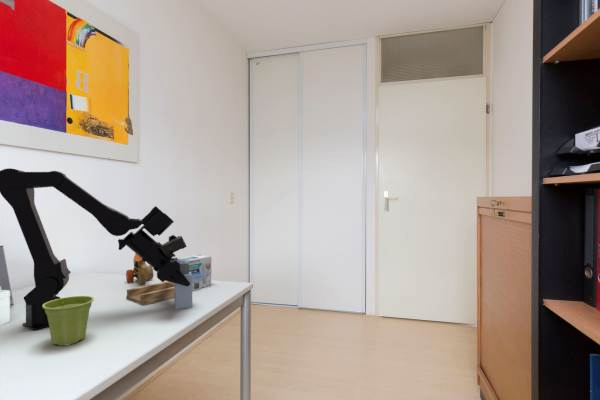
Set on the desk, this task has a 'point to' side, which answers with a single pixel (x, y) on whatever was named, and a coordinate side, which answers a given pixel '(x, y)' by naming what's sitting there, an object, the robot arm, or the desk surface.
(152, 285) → the cradle
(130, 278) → the toy helicopter
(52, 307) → the plant pot
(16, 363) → the desk surface
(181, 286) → the box with grey fin
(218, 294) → the desk surface
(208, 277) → the light bulb box
